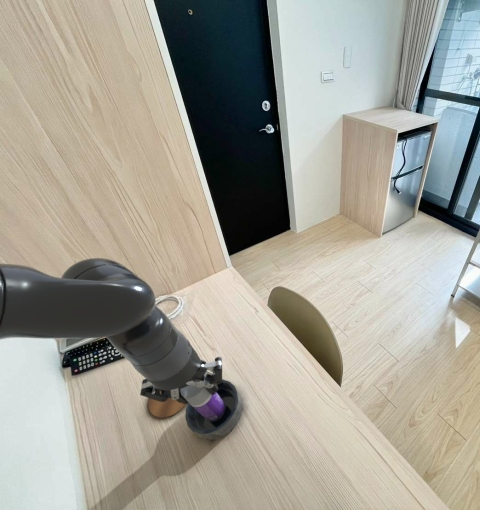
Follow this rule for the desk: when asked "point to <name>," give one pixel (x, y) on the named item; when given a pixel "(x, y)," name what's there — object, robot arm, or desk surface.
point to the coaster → (165, 407)
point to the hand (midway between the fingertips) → (200, 394)
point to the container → (204, 402)
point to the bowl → (226, 421)
